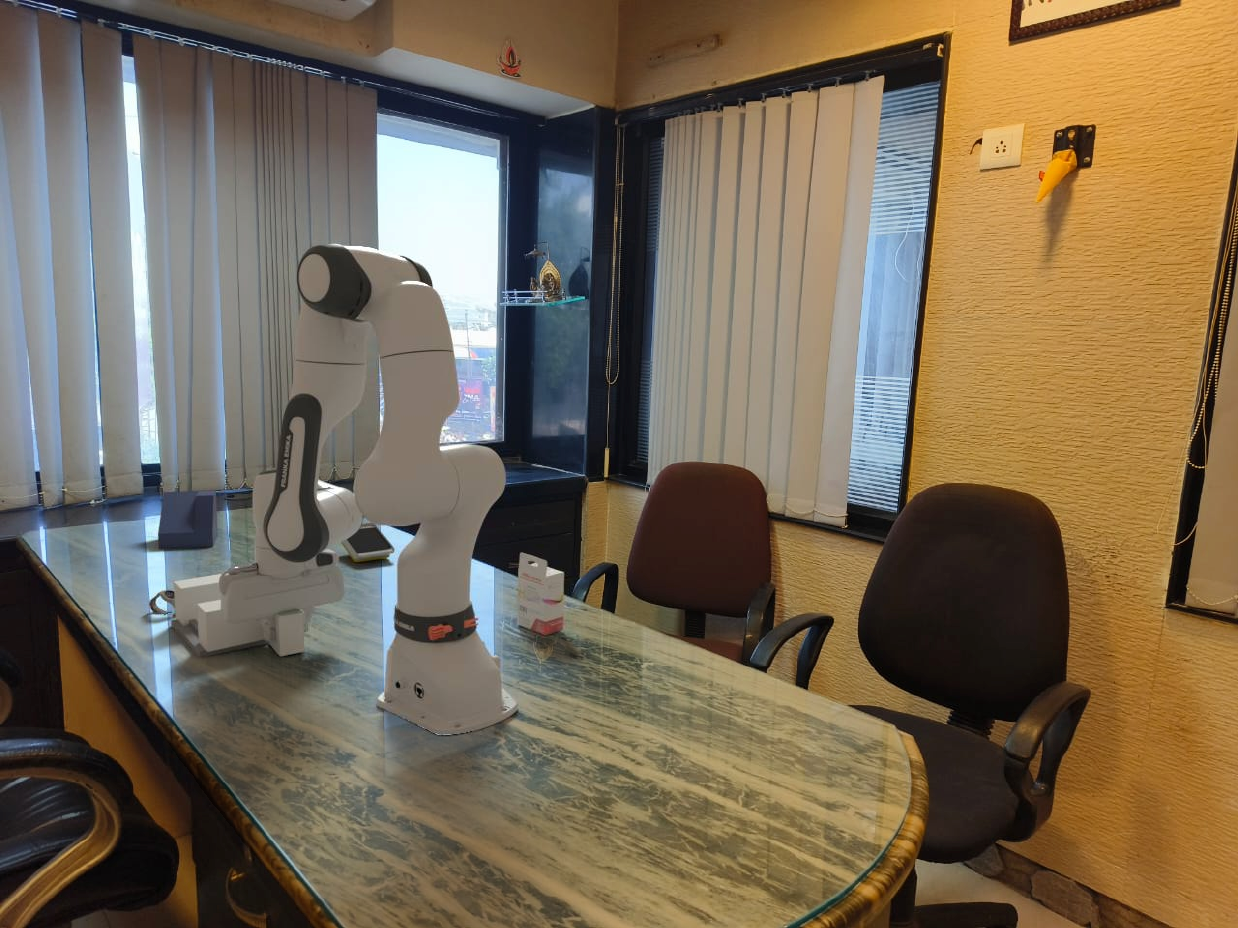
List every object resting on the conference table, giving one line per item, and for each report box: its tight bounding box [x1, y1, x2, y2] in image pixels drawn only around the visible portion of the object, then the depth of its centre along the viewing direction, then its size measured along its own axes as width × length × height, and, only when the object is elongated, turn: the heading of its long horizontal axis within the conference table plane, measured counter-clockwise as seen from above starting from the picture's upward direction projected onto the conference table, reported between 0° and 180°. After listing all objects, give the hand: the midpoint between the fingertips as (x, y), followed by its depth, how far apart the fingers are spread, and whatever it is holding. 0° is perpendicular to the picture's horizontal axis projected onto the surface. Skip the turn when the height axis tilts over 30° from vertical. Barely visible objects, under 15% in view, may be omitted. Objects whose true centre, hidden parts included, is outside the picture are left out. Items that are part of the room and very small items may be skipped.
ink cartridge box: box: [516, 552, 565, 636], centre depth 153 cm, size 9×5×15 cm, turn 47°
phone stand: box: [157, 490, 219, 550], centre depth 202 cm, size 12×12×12 cm
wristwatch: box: [148, 589, 176, 617], centre depth 152 cm, size 4×6×5 cm, turn 78°
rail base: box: [170, 573, 269, 658], centre depth 143 cm, size 20×12×8 cm, turn 43°
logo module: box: [268, 609, 306, 657], centre depth 138 cm, size 7×4×7 cm, turn 38°
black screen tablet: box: [340, 522, 395, 563], centre depth 196 cm, size 9×4×15 cm
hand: (286, 635), depth 138 cm, fingers closed on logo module, 4 cm apart
